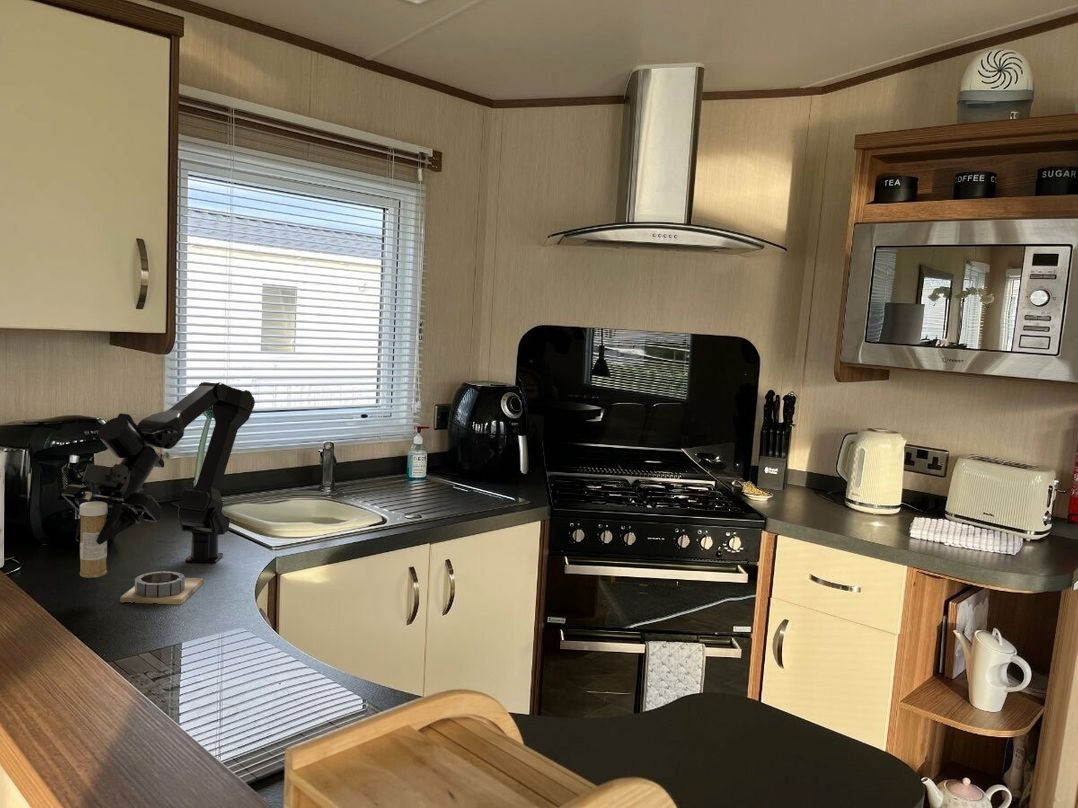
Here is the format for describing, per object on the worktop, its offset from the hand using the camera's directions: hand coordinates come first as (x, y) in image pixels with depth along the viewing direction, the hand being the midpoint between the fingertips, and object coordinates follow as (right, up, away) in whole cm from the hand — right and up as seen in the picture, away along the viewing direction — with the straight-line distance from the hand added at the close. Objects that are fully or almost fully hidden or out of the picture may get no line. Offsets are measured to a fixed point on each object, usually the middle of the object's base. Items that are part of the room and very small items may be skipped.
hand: (87, 541), depth 155 cm
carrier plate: (+10, -11, +10) cm, 18 cm away
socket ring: (+10, -12, +8) cm, 17 cm away
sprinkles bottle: (0, -7, +2) cm, 7 cm away
